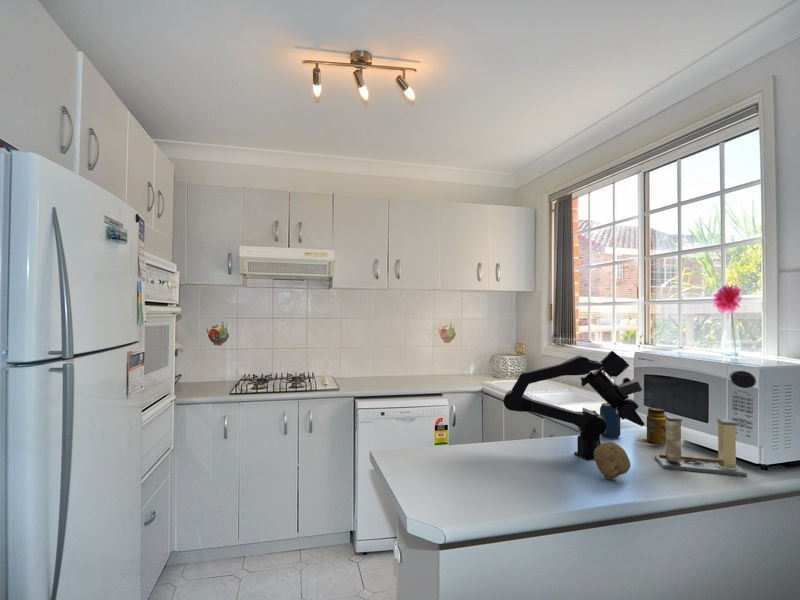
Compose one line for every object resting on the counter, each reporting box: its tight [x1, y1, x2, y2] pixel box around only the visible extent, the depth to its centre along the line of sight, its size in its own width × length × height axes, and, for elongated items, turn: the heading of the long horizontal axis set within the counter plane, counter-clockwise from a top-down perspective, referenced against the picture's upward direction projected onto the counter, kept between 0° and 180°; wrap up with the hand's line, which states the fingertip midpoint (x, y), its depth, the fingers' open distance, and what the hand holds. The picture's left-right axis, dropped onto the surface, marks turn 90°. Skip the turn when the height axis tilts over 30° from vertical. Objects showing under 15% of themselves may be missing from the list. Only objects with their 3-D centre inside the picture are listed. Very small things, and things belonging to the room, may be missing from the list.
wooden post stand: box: [653, 418, 748, 477], centre depth 134 cm, size 21×10×14 cm, turn 73°
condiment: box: [636, 407, 666, 447], centre depth 159 cm, size 7×8×12 cm
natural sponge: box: [593, 441, 631, 480], centre depth 123 cm, size 9×9×10 cm
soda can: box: [599, 402, 622, 440], centre depth 165 cm, size 7×7×12 cm
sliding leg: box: [665, 414, 683, 462], centre depth 135 cm, size 3×4×13 cm
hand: (643, 425), depth 138 cm, fingers closed
